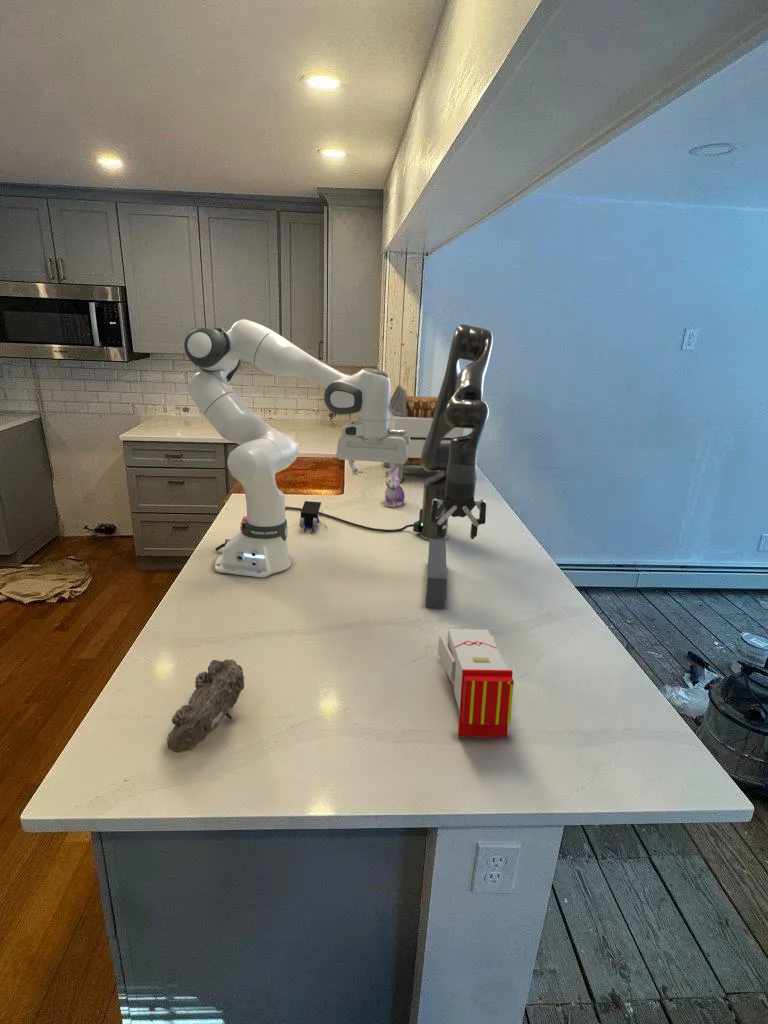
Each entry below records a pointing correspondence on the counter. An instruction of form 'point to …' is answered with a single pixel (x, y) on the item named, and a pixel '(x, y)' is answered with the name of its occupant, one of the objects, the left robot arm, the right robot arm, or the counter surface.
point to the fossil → (206, 705)
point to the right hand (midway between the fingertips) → (455, 537)
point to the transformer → (414, 424)
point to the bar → (436, 574)
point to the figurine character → (310, 515)
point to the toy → (478, 682)
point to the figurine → (394, 490)
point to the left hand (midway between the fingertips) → (371, 476)
